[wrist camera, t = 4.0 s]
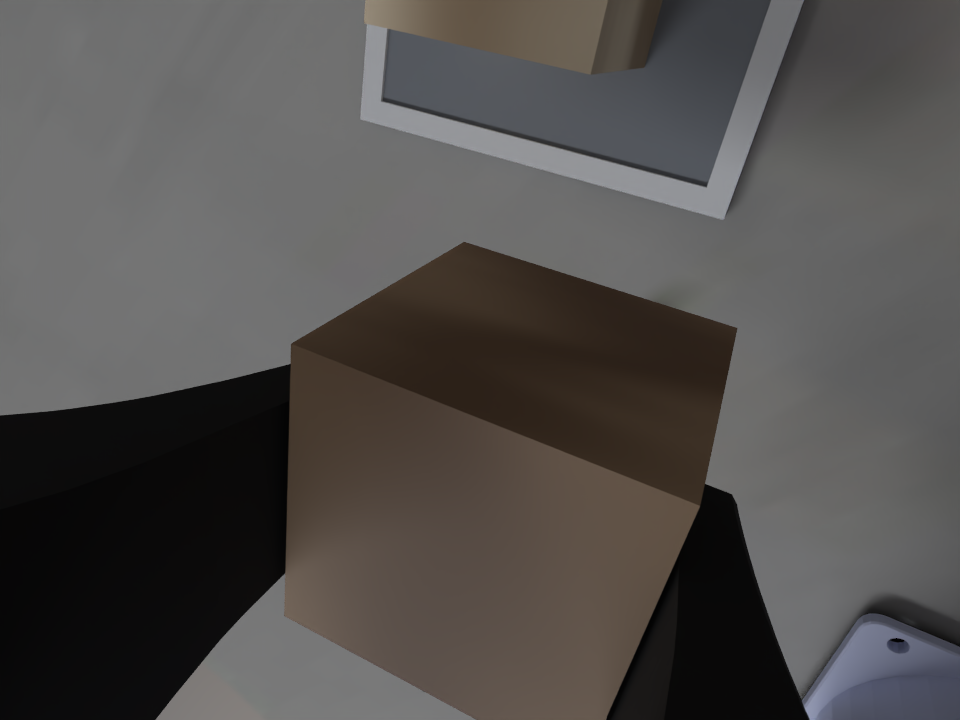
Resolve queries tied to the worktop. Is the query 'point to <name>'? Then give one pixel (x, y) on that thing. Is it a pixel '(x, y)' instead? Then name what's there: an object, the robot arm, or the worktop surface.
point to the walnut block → (497, 479)
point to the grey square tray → (600, 102)
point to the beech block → (532, 28)
